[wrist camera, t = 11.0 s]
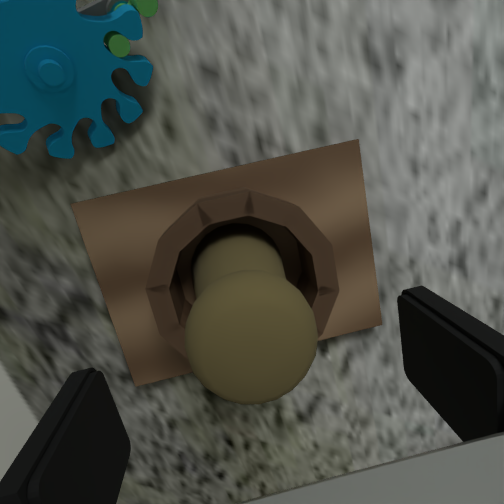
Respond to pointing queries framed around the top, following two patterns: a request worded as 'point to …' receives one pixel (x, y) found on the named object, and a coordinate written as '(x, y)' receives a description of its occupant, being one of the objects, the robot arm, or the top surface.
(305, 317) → the cork
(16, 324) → the top surface
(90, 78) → the gear
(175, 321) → the shaker stand
